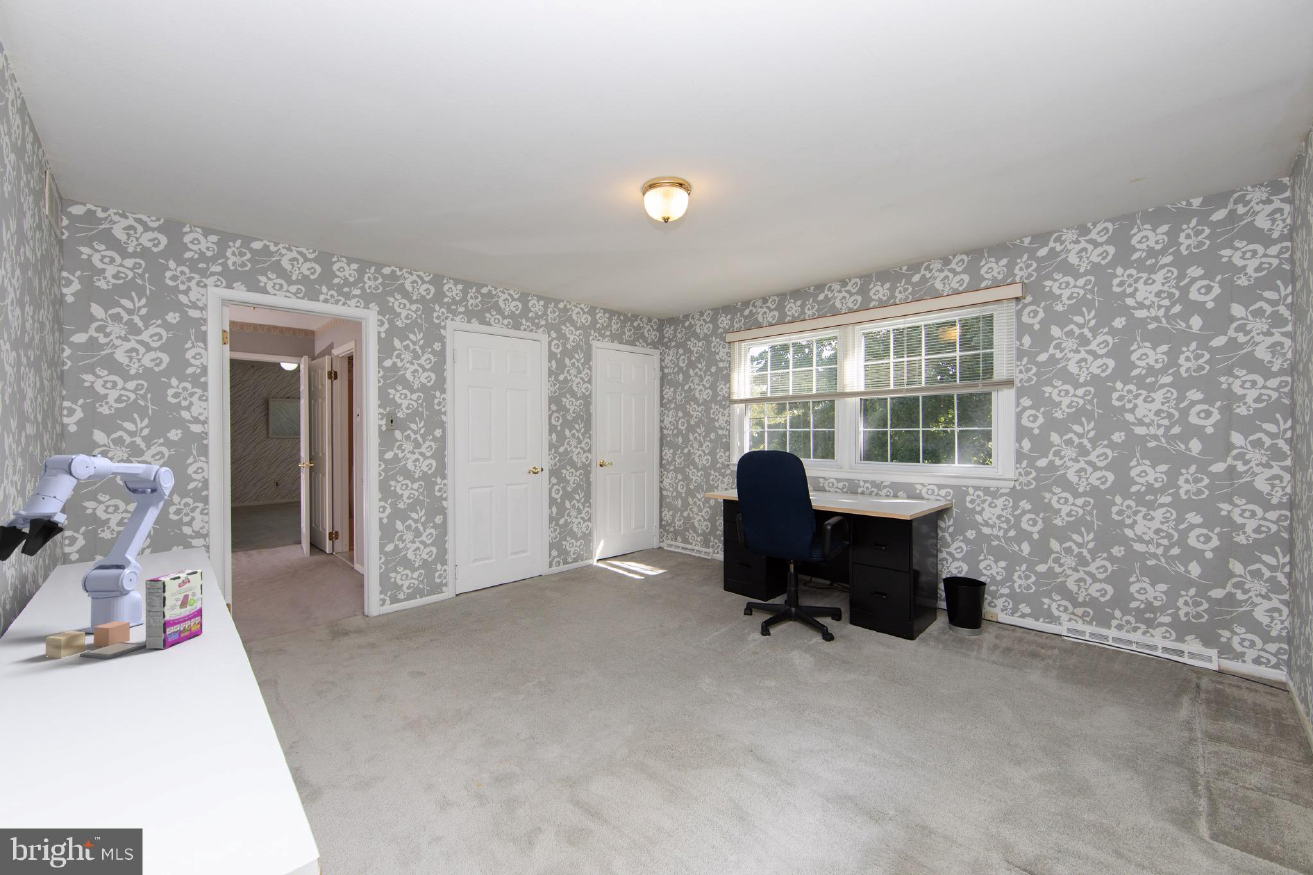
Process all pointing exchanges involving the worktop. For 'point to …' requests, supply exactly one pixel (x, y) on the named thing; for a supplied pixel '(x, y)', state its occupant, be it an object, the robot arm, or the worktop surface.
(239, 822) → the worktop surface
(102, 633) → the terracotta cube
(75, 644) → the maple cube
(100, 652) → the build plate
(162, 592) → the candy bar box
